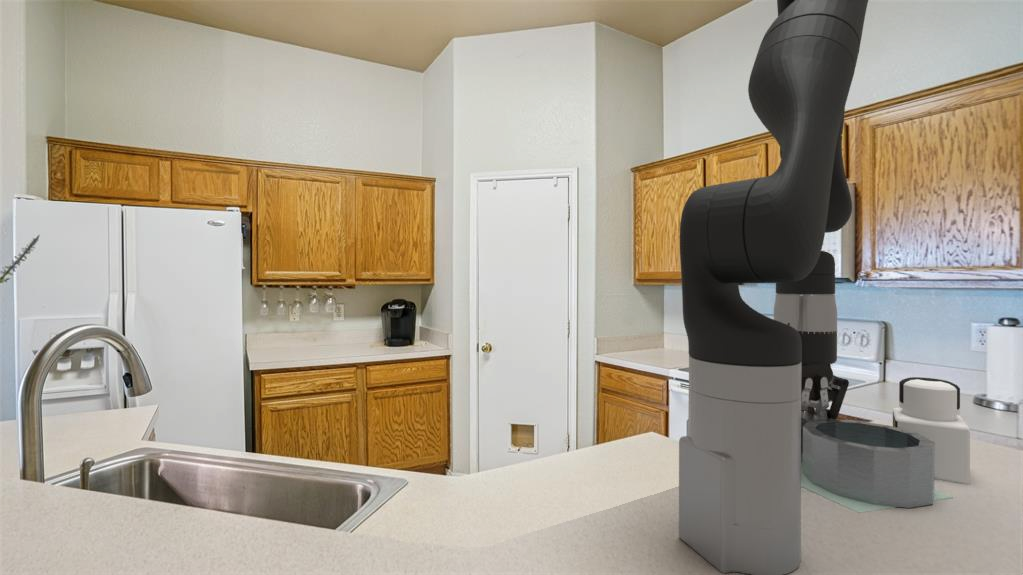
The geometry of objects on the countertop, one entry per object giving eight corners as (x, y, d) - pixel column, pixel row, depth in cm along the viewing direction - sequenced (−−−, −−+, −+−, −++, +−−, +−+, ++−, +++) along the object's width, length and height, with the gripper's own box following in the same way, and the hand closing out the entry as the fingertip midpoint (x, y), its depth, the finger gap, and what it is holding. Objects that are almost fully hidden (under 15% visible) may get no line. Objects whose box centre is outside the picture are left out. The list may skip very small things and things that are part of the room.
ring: (877, 513, 51) (878, 456, 51) (752, 456, 68) (752, 413, 68) (962, 499, 54) (962, 445, 54) (822, 448, 71) (822, 407, 71)
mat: (858, 516, 51) (858, 512, 51) (741, 460, 67) (741, 457, 67) (953, 500, 55) (953, 496, 55) (820, 450, 71) (820, 447, 71)
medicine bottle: (892, 456, 69) (892, 372, 69) (960, 468, 64) (961, 378, 64) (895, 472, 63) (895, 380, 63) (970, 486, 59) (970, 387, 59)
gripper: (785, 330, 61) (785, 466, 61) (869, 328, 65) (869, 456, 65) (742, 325, 68) (741, 447, 69) (820, 323, 72) (819, 438, 72)
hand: (803, 450), depth 67 cm, fingers closed on ring, 3 cm apart
